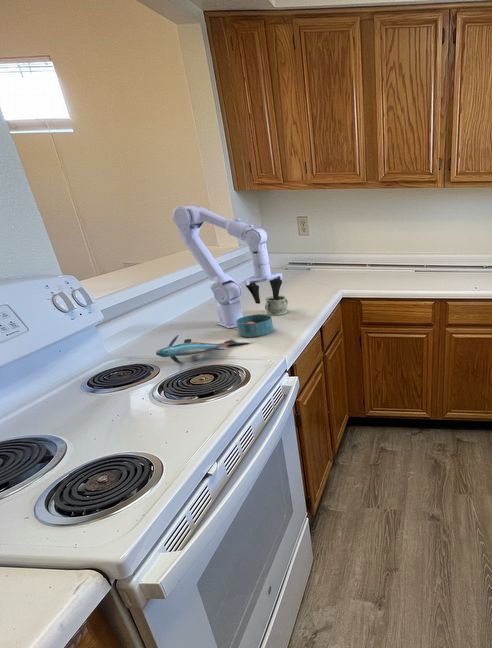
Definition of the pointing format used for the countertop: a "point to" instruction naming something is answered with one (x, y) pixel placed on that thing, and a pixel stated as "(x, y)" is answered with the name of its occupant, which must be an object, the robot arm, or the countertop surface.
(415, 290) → the countertop surface
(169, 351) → the fish
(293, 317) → the countertop surface
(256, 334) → the teal pet bowl
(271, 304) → the vessel
